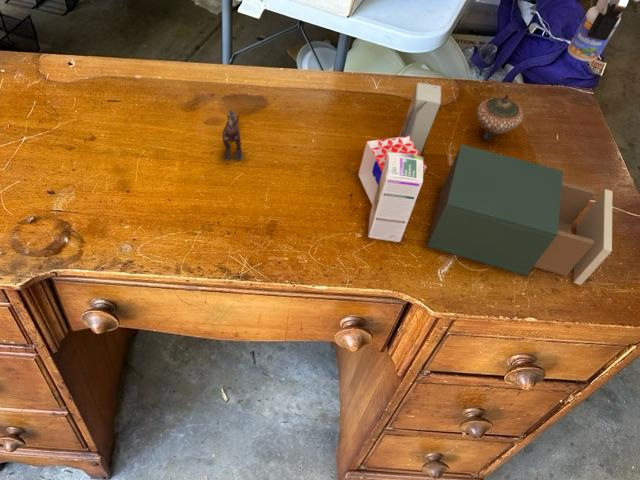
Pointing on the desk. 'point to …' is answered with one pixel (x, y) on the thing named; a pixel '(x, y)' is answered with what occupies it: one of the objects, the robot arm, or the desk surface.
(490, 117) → the acorn
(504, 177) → the cabinet
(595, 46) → the pill bottle
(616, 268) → the desk surface
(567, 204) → the drawer
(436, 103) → the box
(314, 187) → the desk surface
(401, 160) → the syrup box
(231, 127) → the dinosaur model
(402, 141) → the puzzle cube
